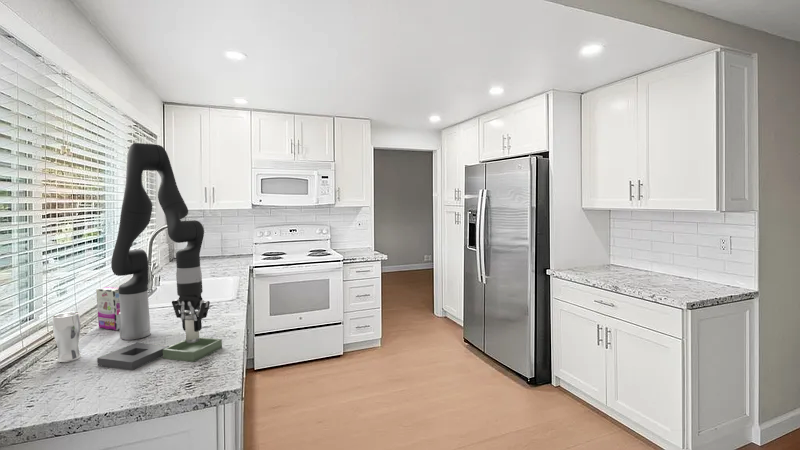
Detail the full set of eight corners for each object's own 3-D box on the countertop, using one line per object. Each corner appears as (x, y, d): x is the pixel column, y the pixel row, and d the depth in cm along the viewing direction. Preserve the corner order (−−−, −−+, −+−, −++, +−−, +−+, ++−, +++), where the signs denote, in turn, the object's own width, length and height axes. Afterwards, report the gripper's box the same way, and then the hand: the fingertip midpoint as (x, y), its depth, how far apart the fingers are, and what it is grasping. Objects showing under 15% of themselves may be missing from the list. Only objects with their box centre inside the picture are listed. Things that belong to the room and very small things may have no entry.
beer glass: (52, 364, 130) (49, 318, 128) (59, 357, 136) (55, 313, 135) (80, 360, 133) (76, 315, 132) (84, 353, 139) (81, 310, 138)
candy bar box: (128, 327, 167) (125, 288, 166) (116, 331, 162) (113, 290, 161) (110, 324, 171) (108, 286, 170) (98, 328, 166) (95, 288, 165)
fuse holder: (97, 365, 128) (97, 358, 128) (137, 349, 142) (136, 342, 141) (132, 370, 124) (131, 362, 124) (169, 353, 138) (169, 345, 138)
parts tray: (163, 358, 133) (162, 349, 133) (192, 344, 145) (192, 336, 145) (194, 361, 130) (194, 352, 130) (222, 347, 142) (221, 339, 142)
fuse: (183, 342, 136) (181, 316, 135) (192, 338, 140) (190, 313, 139) (193, 343, 135) (191, 317, 134) (202, 339, 138) (200, 313, 138)
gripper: (163, 281, 134) (166, 332, 135) (198, 283, 130) (201, 335, 131) (181, 277, 141) (183, 325, 142) (215, 278, 137) (217, 328, 139)
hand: (192, 330), depth 137 cm, fingers closed on fuse, 4 cm apart
